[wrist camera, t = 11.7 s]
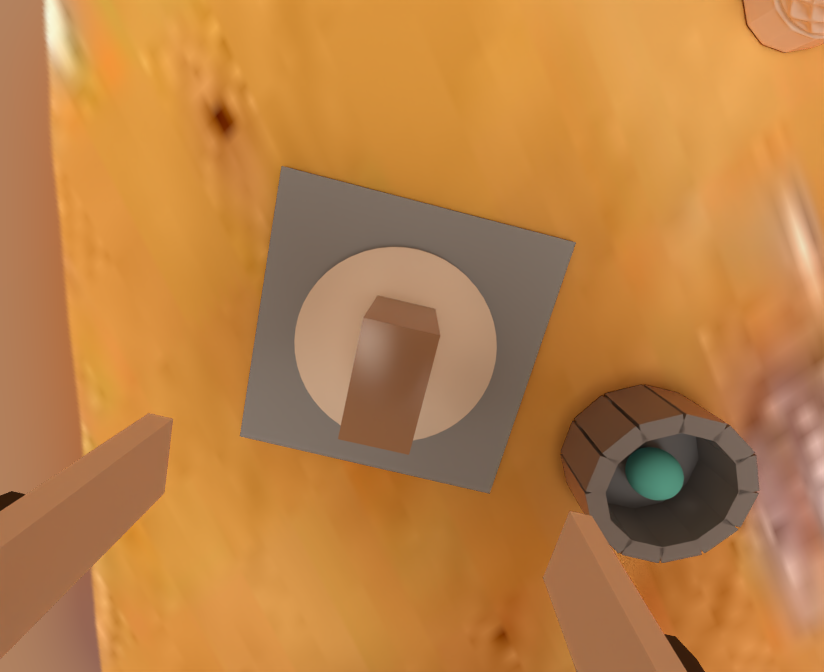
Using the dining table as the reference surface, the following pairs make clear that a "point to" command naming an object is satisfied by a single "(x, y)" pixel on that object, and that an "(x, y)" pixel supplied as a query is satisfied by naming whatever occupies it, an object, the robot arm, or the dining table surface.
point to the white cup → (786, 23)
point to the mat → (414, 228)
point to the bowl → (689, 444)
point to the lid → (395, 346)
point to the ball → (654, 473)
